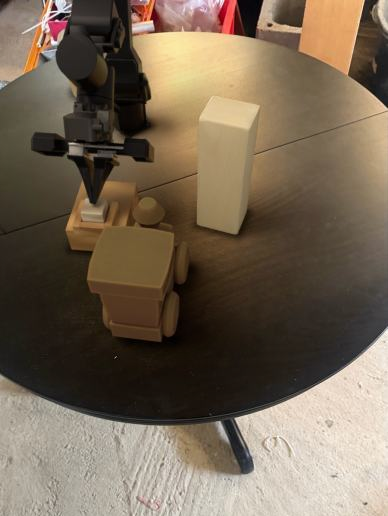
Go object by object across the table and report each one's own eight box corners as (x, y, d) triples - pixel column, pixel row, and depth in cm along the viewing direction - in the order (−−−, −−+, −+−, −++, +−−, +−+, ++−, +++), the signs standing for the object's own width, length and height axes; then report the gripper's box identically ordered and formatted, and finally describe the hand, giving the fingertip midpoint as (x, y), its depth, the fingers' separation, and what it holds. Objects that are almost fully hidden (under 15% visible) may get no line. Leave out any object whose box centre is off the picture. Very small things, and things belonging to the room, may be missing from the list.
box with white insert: (87, 199, 91) (80, 170, 85) (139, 202, 90) (135, 174, 85) (70, 252, 84) (61, 225, 78) (126, 256, 83) (121, 229, 78)
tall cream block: (249, 208, 89) (262, 101, 71) (238, 235, 86) (249, 129, 68) (208, 199, 91) (212, 92, 73) (196, 225, 87) (196, 119, 69)
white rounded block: (87, 207, 81) (85, 198, 79) (108, 208, 81) (106, 199, 79) (83, 222, 79) (80, 213, 77) (104, 223, 79) (102, 214, 77)
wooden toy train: (173, 356, 72) (168, 288, 58) (101, 347, 73) (78, 278, 59) (193, 258, 83) (192, 180, 69) (129, 251, 84) (115, 173, 70)
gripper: (14, 81, 67) (16, 196, 71) (144, 88, 66) (139, 205, 69) (44, 102, 78) (44, 201, 81) (157, 108, 77) (152, 209, 80)
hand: (93, 203), depth 78 cm, fingers closed
